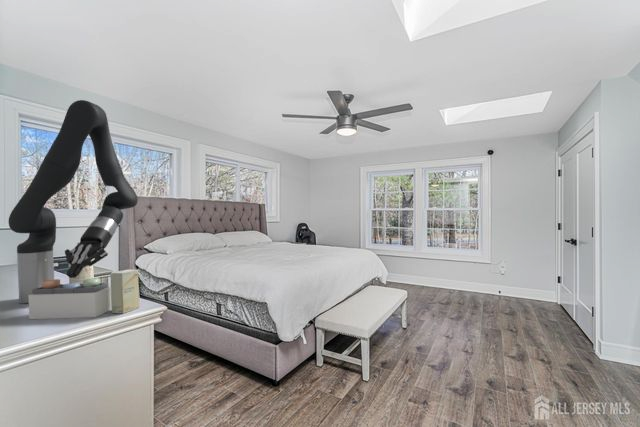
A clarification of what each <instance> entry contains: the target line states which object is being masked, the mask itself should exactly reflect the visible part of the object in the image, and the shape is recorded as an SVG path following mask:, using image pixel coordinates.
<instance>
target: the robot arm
mask: <svg viewBox="0 0 640 427" xmlns="http://www.w3.org/2000/svg"><path fill="white" fill-rule="evenodd" d="M88 137H89V138H90V139H91V142H92V145H93V151H94V157H95V158H94V160H95V163H96V167H97V170H98V173H99V175H100V177H101V181H102V183H103V184H104V185H105V186H107V187H113V188H115V189H116V191H114V192H111V193H108V195H106V196H105V198H104V200H103V202H102V203H103V204H102V207H101V209H100V211H99V213H98V215H97V216H96V218H95V219H94V220H92V222H91V223H90V224H89V225H88V227H87V228H86V230H85V231H84V233H83V234H82V235H81V236H80V240H79V242H78V243H79V244H78V245H77V244H76V245H75V247H74V248H75V249H74V248H72V249H73V250H72V249H71V250H70V249H68V248H67V249H66V250H64V255H65V258H66V262H67V263H68V265H69V264H70V265H71V267H70V268H69V267H68V269H67V271H66V276H67V277H68V278H69V277H70V278H76V277H77V276H78V275H79V274H80V272H81V271H82V269H83V268H85V267H86V266H92V265H93V266H94V265H95V264H97V263H98V262H99V261H101V260H103V259H104V258H106V257H107V256H108V254H109V252H108V251H106V250H105V249H106V248H107V247H108V245H109V243H110V242H111V241H112V240H111V239H112V238H113V236H114V235H115V233H116V232H117V229H118V227H119V226H120V224H121V222H122V220H123V219H124V213H123V211H122V210H127V209H130V208H131V209H132V208H134V207H136V206H137V204H138V202H139V200H138V199H139V198H138V195H137V193H136V191H135V190H134V188H133V187H132V186H131V184H130V183H129V182H128V180H127V179H126V177H125V175H124V173H123V169H122V166H121V164H120V162H119V158H118V156H117V153H116V150H115V148H114V144H113V140H112V137H111V133H110V127H109V121H108V117H107V113H106V111H105V110H104V109H103V108H102V107H101V106H99V105H98V104H95V103H93V102H91V101H89V100H85V99H79V100H76V101H73V102H72V103H71V104H70V105H69V106H68V109H67V110H66V114H65V115H64V119H63V121H62V125H61V127H60V129H59V132H58V134H57V136H56V137H55V139H54V141H53V142H52V144H51V146H50V148H48V149H49V150H48V151H47V152H46V155H45V156H44V158H43V159H42V162H41V164H40V166H39V167H38V169H37V171H36V174H35V176H33V179H32V180H31V182H30V183H29V186H28V187H27V189H26V191H25V192H24V193H23V195H22V197H21V198H20V199H19V200H18V202H17V203H16V204H15V206H14V207H13V209H12V210H11V212H10V215H9V216H8V226H9V228H10V230H11V231H13V232H14V233H17V234H29V235H28V237H27V238H26V240H25V241H23V242H21V243H19V244H18V245H17V247H16V254H17V255H16V258H17V260H16V261H17V280H18V282H17V283H18V303H19V304H29V297H28V295H31V294H33V293H32V290H33V289H37V288H40V287H42V282H43V281H47V280H54V279H55V265H54V261H55V260H54V259H55V258H54V245H55V243H56V241H57V240H56V238H57V237H56V236H57V235H56V234H57V219H56V215H55V212H53V210H52V209H51V208H49V207H45V206H46V204H47V202H48V201H49V200H50V199H51V198H52V197H53V196H55V195H56V194H58V193H59V192H60V191H61V190H63V189H64V188H65V187H67V185H69V184H70V183H71V181H72V180H73V178H74V177H75V175H76V173H77V171H78V169H79V167H80V164H81V159H82V153H83V152H82V151H83V146H84V144H85V141H86V140H87V138H88ZM92 260H93V261H92Z"/></svg>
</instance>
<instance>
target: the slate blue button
mask: <svg viewBox="0 0 640 427" xmlns="http://www.w3.org/2000/svg"><path fill="white" fill-rule="evenodd" d="M63 284H64V285H63V288H75V287H78V286H80V283H69V282H68V283H66V284H65V283H63Z"/></svg>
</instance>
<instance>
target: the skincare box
mask: <svg viewBox="0 0 640 427" xmlns="http://www.w3.org/2000/svg"><path fill="white" fill-rule="evenodd" d="M109 274H110V287H111V308H112V309H111V313H112V314H126V313H128V312H130V311H133V310H136V309H139V308H140V289H139V288H140V287H139V269H130V268H129V269H124V270H119V271H114V272H110V273H109Z"/></svg>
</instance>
